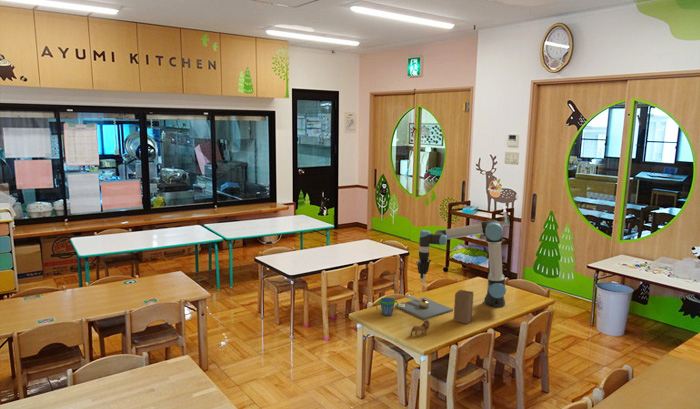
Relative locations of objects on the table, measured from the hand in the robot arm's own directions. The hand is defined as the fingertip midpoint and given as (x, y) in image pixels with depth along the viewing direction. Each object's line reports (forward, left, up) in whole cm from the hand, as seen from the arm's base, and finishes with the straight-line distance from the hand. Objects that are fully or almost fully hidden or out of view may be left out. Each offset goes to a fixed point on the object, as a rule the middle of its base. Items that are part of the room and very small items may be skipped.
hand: (422, 282), depth 364 cm
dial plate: (-10, +8, -16) cm, 20 cm away
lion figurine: (-40, +41, -16) cm, 60 cm away
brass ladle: (-3, +8, -14) cm, 16 cm away
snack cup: (-2, +36, -16) cm, 39 cm away
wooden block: (-40, +1, -16) cm, 43 cm away
